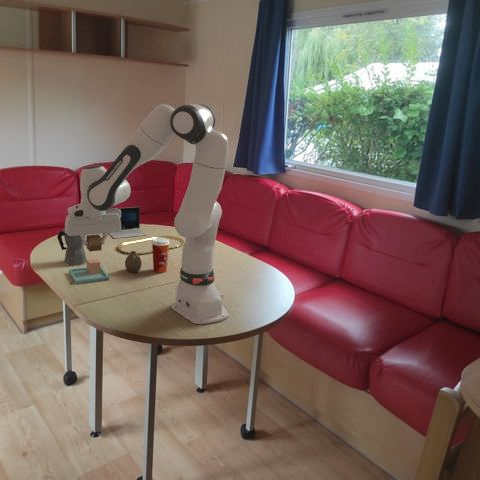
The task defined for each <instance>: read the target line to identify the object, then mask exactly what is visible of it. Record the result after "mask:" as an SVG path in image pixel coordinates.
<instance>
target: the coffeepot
mask: <svg viewBox="0 0 480 480" xmlns="http://www.w3.org/2000/svg"><path fill="white" fill-rule="evenodd" d="M62 237H64V242H65V245H66V247H65V245H64V242H63V238H62ZM84 239H85V240H86V236H85V237H84ZM57 240H58V243H59V246H60V247H61V250H63V251H65V256H64V264H65V265H67V264H68V265H67V266H70V265H79V266H82V265H81V264H83V265H85V264H87V260H88V259H87V257H86V251H85V248H84V244H83V240H82V238H81V237H80V235H76V236H68V235H67V234H66V233H65V228H63V229H62V230H61V231H59V232H58V234H57ZM84 263H85V264H84Z"/></svg>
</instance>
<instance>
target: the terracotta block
mask: <svg viewBox="0 0 480 480" xmlns="http://www.w3.org/2000/svg"><path fill="white" fill-rule="evenodd" d="M86 260H87V262H86V267H87V272H88V273H89V275H92V274H100V266H101V261H100V260H99V258H90V259H86Z"/></svg>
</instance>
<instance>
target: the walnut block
mask: <svg viewBox="0 0 480 480" xmlns="http://www.w3.org/2000/svg"><path fill="white" fill-rule="evenodd" d="M85 240H88V246H86V249H87V250H88V251H89V252H98V251H102V248H103V246H102V245H103V244H102V236H101V235H100V234H88V235H85Z"/></svg>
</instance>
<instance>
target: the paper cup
mask: <svg viewBox="0 0 480 480" xmlns="http://www.w3.org/2000/svg"><path fill="white" fill-rule="evenodd" d="M150 242H151V244H152V245H151V249H152V251H153V253H152V267H153V272H154V273H158V274H164V273H166V272H167V270H168V261H169V260H168V259H169V250H170V249H169V247H170V244H171V243H170V239H166V238H154V239H153V240H151V241H150Z"/></svg>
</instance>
